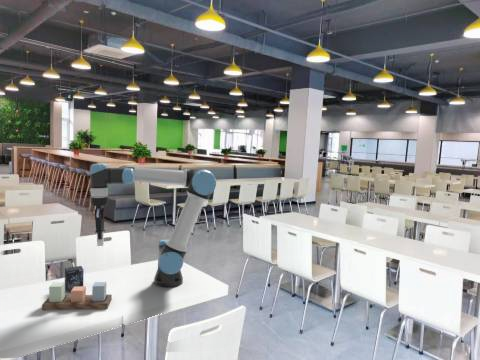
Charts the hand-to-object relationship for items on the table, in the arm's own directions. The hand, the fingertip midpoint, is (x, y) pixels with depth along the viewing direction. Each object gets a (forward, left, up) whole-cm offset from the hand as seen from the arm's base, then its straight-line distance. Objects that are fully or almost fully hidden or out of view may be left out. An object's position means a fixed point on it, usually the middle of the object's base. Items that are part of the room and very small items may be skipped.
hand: (100, 245), depth 178 cm
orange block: (+7, +11, -24) cm, 27 cm away
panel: (+7, +11, -24) cm, 28 cm away
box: (+14, -8, -25) cm, 29 cm away
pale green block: (+16, +11, -22) cm, 29 cm away
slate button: (-2, +11, -22) cm, 25 cm away
